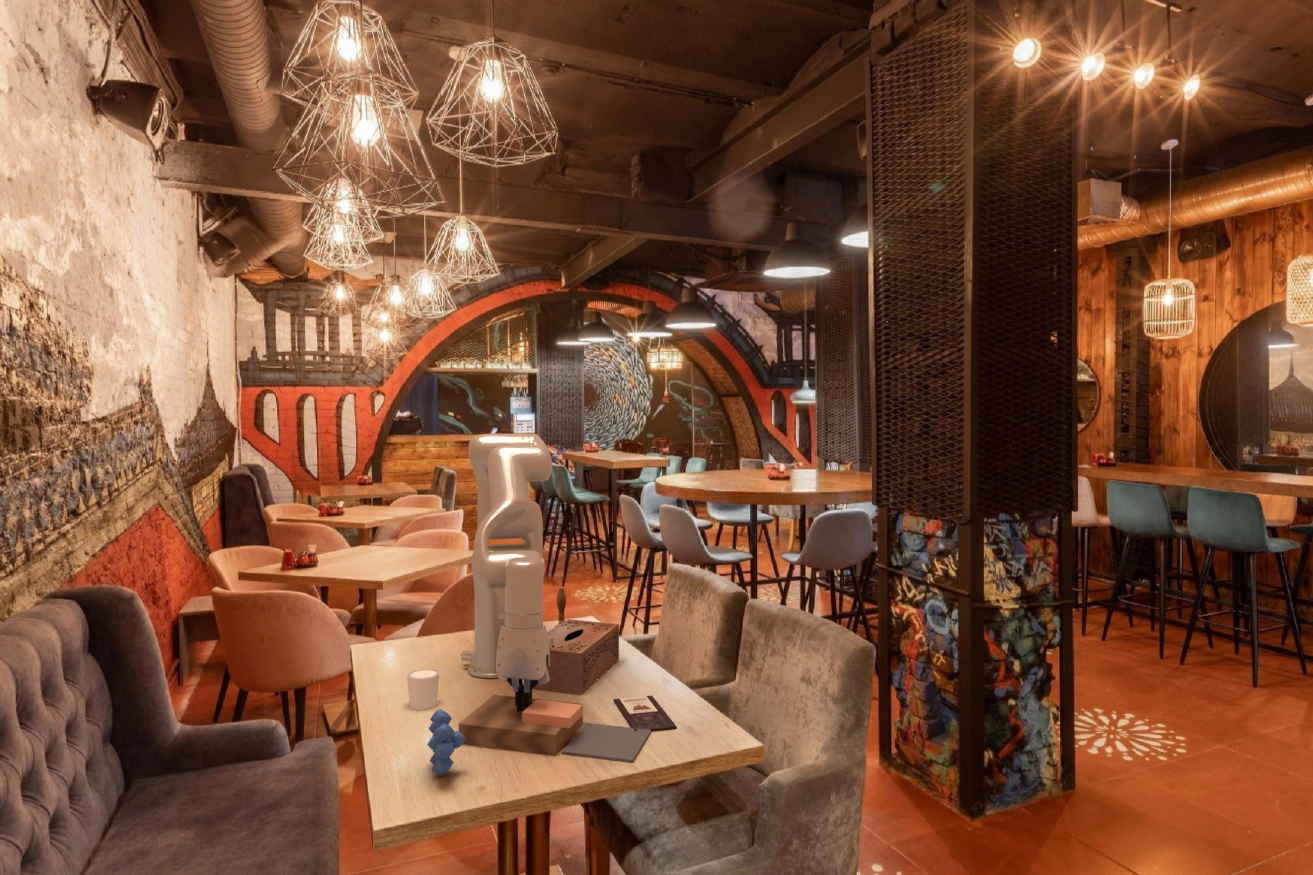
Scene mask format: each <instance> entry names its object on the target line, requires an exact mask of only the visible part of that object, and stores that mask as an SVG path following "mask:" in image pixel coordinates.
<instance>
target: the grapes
mask: <svg viewBox="0 0 1313 875" xmlns="http://www.w3.org/2000/svg"><path fill="white" fill-rule="evenodd" d="M451 720H453V717H452V716H451V715H450V714H449V713H448V712H446V711H444V710H443V709H437V710H436V711H435V712H434V713H433V714H432V716H431V717H430V721H431V722H432V723H431V724H430V726H429V727H428V730H429V731H430V732H431V734H432V737H431V738H430V740H429V741H428V742H427V746H428V748H429V749H430V750H432V753H433V754H432V756H431V758H429V762H430V763H431V764H432V768H431V770H432V771H433V772H434V773H435V774H436V775H437V776H439V777H443V776H445V775H446V774H447V773H448V771H449V770H450V769H451V768H452V766H453V764H454V761H453V759H452V758H451V756H452V755H453V753H454V752H455V750H456V749H459V748H460V747H461V746H462V745H464V744H463V742H464V741H465V739H466V738H465V737H464V736H463V734H462V733H460V732H459V730H456V731H455V729H454V728H453V727H451V725H449V724H450V722H451Z"/></svg>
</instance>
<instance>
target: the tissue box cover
mask: <svg viewBox="0 0 1313 875" xmlns="http://www.w3.org/2000/svg"><path fill="white" fill-rule="evenodd" d="M547 635H548V641H549V651H550V670H549V672H548V674H549V678H550V680H549V681H548V682H547V683H546V684H540V685H536V686H535V687H534V688H533V689H532V690H537V691H544V692H549V693H550V692H552V693H559V694H567V695H572V696H573V695H575V696H582V695H584V693H585V692H587V690H588V689H590V688H591V687H592V686H593V685H594V684H595V683H596V682H598V680H600V679H601V678H602V677H603V676H604V675H605V674H607V672H608V671H610V670H611V669H612V668H613V667H614V666H615V665H616V664H617V663H618V662H619V661H620V623H612V622H601V621H591V620H581V619H580V620H579V619H578V620H577V619H570V618H568V619H566V620H565V621H564V622H563V623H561V624H560V625H558V626H557V627H555V628H554V627H553V628H552V629H550V630H549V631H547ZM618 660H619V661H618ZM617 661H618V662H617ZM615 663H616V664H615ZM614 664H615V665H614ZM613 665H614V666H613ZM612 666H613V667H612ZM611 667H612V668H611ZM610 668H611V669H610ZM607 670H608V671H607ZM606 671H607V672H606ZM604 673H605V674H604ZM603 674H604V675H603ZM602 675H603V676H602ZM601 676H602V677H601ZM600 677H601V678H600ZM597 679H598V680H597ZM594 682H595V683H594ZM523 683H524V684H525V679H523ZM590 686H591V687H590Z"/></svg>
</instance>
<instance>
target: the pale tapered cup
mask: <svg viewBox="0 0 1313 875" xmlns="http://www.w3.org/2000/svg"><path fill="white" fill-rule="evenodd" d="M406 677H407V689H408V700H409V707H410V708H411V709H412V710H415V711H425V710H426V711H427V710H430V709H433V708H435V707H436V706H437V700H438V692H439V680H440V671H438V670H436V669H434V668H433V669H430V668H427V669H425V668H424V669H423V668H421V669H416V670H413V671H411V672H409V673H407V676H406Z"/></svg>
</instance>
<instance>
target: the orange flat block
mask: <svg viewBox="0 0 1313 875" xmlns="http://www.w3.org/2000/svg"><path fill="white" fill-rule="evenodd" d="M545 700H546V699H542V700H536V701H535V702H533V703H532V704H531V705H530V706H529V707H528V708H526V709H525V710H524V711H523V712H522V722H523V723H531V724H539V725H547V726H555V727H563V728H571V726H572V725H573V724H574V723H575V722H576V721H577V720H578V719H579V718H580V717H581V716H582V715H584V713H583V712H584V704H583V705H579V704H571V703H572V702H570V703H562V702H563V701H561V702H553V701H554V700H551V701H545Z"/></svg>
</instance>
